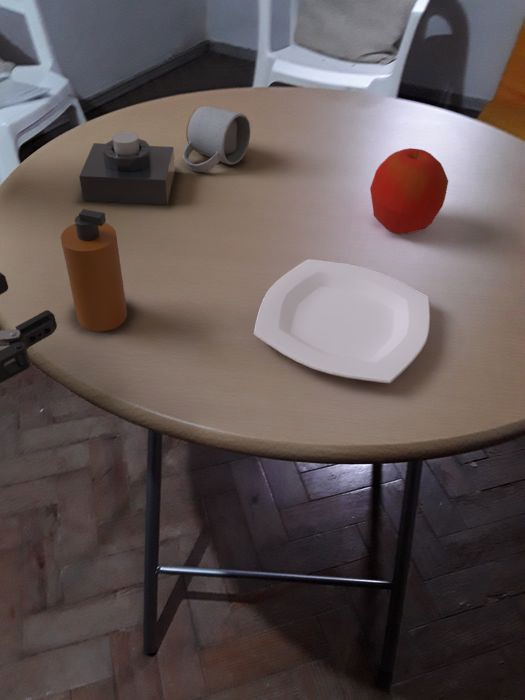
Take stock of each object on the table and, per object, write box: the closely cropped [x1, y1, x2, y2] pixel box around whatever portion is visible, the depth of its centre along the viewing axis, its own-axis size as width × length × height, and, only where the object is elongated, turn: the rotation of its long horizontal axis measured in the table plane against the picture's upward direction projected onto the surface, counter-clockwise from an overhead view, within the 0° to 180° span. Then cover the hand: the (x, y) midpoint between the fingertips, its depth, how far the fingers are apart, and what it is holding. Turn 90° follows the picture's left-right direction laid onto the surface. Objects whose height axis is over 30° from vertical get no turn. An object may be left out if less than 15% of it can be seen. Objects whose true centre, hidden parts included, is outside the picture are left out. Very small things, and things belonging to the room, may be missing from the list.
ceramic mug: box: [182, 105, 252, 173], centre depth 98 cm, size 11×8×8 cm
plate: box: [253, 258, 431, 384], centre depth 73 cm, size 19×19×2 cm
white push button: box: [112, 130, 140, 155], centre depth 89 cm, size 4×4×2 cm
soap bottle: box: [60, 208, 128, 333], centre depth 68 cm, size 6×6×14 cm
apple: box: [369, 147, 449, 235], centre depth 85 cm, size 10×10×12 cm
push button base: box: [78, 138, 176, 206], centre depth 92 cm, size 12×10×6 cm
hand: (28, 298), depth 63 cm, fingers open, 8 cm apart
